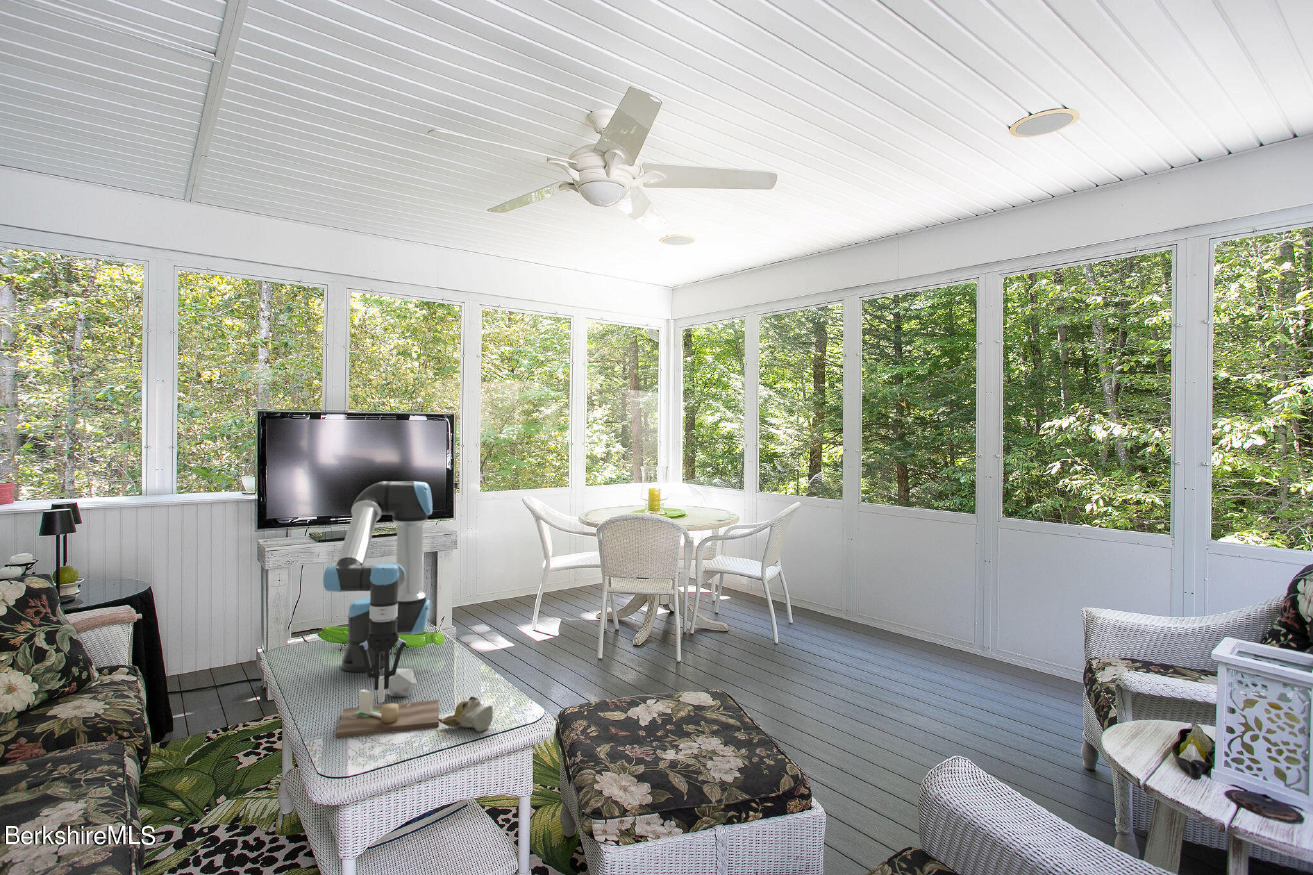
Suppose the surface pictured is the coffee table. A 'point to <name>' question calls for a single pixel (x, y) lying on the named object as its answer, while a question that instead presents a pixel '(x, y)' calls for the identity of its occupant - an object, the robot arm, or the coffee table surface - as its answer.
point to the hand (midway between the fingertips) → (381, 700)
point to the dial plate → (408, 719)
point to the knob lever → (387, 712)
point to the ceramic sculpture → (470, 715)
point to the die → (402, 683)
